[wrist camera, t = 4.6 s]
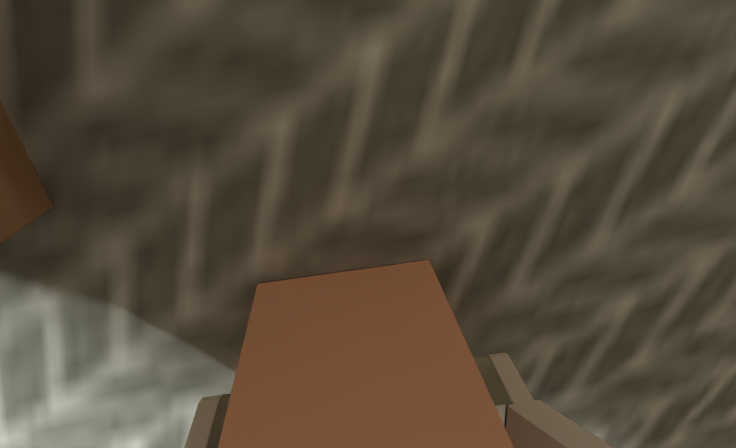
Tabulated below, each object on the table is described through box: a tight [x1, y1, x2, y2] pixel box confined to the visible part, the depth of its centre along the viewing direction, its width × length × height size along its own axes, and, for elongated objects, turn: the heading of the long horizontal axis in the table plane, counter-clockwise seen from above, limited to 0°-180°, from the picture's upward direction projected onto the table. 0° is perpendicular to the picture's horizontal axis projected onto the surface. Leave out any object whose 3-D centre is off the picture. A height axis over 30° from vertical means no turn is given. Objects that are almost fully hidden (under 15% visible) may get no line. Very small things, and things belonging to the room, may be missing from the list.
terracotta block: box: [218, 260, 514, 448], centre depth 10 cm, size 5×5×6 cm
